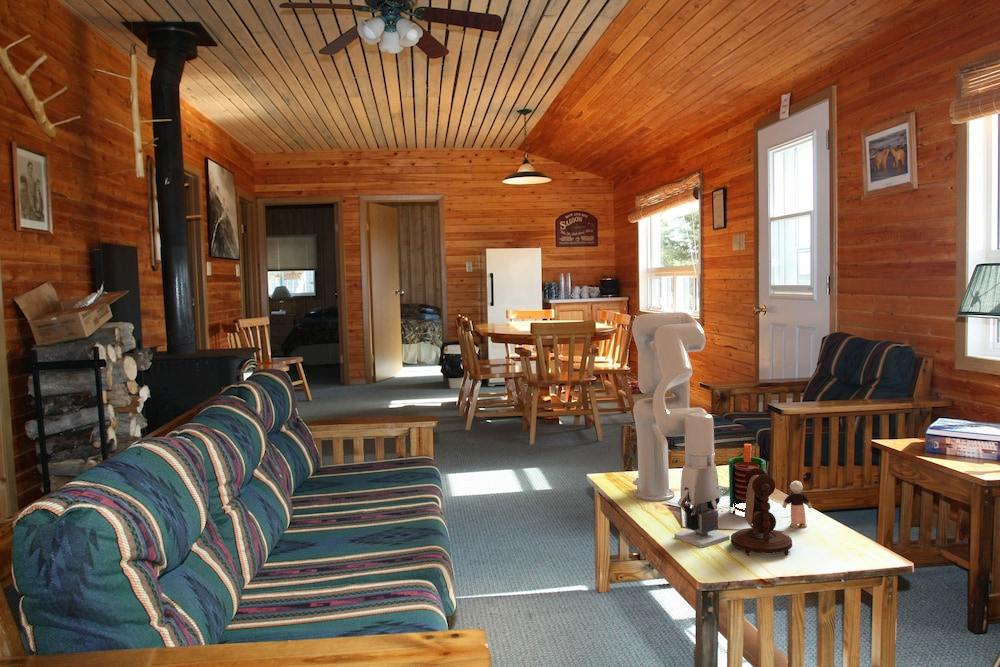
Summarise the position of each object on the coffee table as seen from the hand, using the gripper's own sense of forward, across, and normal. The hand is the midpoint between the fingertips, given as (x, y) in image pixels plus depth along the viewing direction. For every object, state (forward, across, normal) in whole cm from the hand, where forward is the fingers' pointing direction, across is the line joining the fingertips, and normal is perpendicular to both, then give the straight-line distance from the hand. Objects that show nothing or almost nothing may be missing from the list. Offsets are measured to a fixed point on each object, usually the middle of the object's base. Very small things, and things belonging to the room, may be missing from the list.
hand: (701, 525), depth 199 cm
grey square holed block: (+1, 0, 0) cm, 1 cm away
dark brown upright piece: (+4, -6, +14) cm, 16 cm away
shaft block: (+3, 0, 0) cm, 3 cm away
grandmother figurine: (+4, -27, +9) cm, 29 cm away
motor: (+4, -26, -7) cm, 27 cm away
